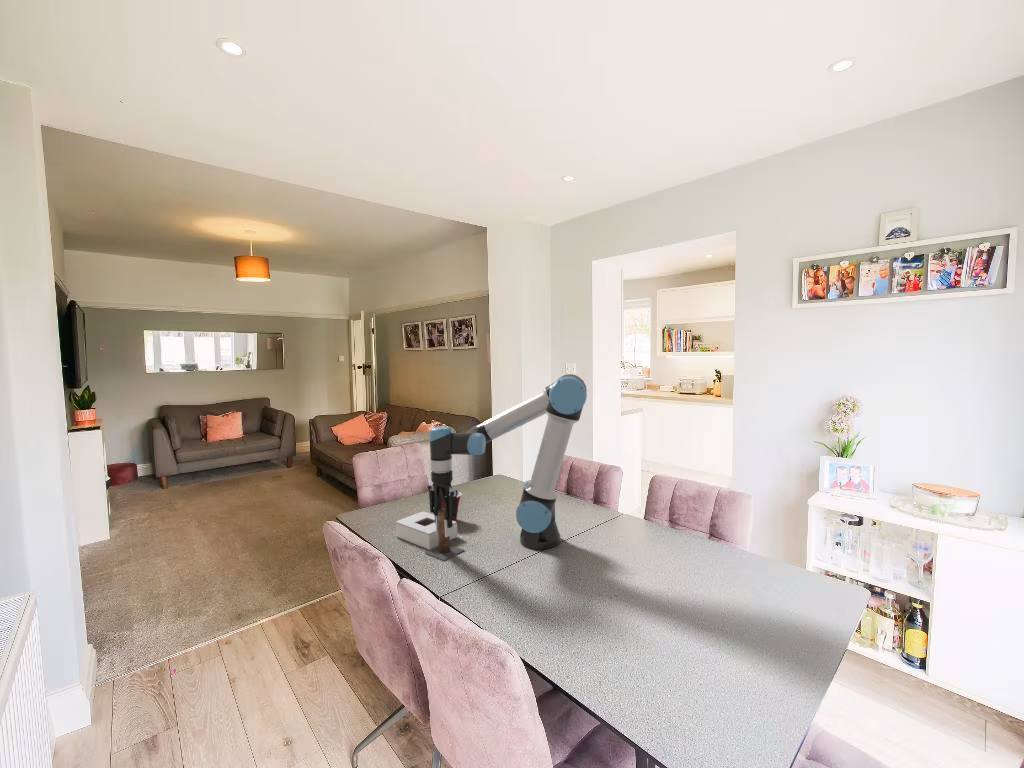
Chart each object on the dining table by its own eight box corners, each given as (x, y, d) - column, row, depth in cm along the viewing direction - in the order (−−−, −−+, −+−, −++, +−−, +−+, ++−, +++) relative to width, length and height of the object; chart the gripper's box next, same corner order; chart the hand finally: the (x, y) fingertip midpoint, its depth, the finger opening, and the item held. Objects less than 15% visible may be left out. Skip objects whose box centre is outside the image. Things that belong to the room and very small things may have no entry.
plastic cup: (467, 520, 198) (466, 493, 197) (445, 527, 191) (444, 499, 190) (453, 514, 207) (452, 487, 206) (432, 520, 200) (431, 492, 199)
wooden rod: (452, 550, 169) (451, 510, 168) (444, 554, 166) (442, 513, 165) (444, 547, 171) (443, 507, 170) (436, 551, 168) (435, 510, 167)
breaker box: (457, 537, 182) (456, 521, 181) (429, 549, 171) (428, 533, 170) (423, 525, 194) (423, 511, 194) (395, 536, 184) (395, 521, 183)
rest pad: (464, 550, 169) (464, 549, 169) (443, 561, 162) (443, 560, 162) (445, 543, 176) (445, 542, 176) (424, 553, 168) (424, 552, 168)
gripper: (466, 471, 164) (468, 536, 166) (433, 464, 174) (436, 525, 176) (450, 476, 158) (452, 543, 160) (417, 469, 169) (420, 531, 171)
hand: (443, 534), depth 168 cm, fingers closed on wooden rod, 4 cm apart
